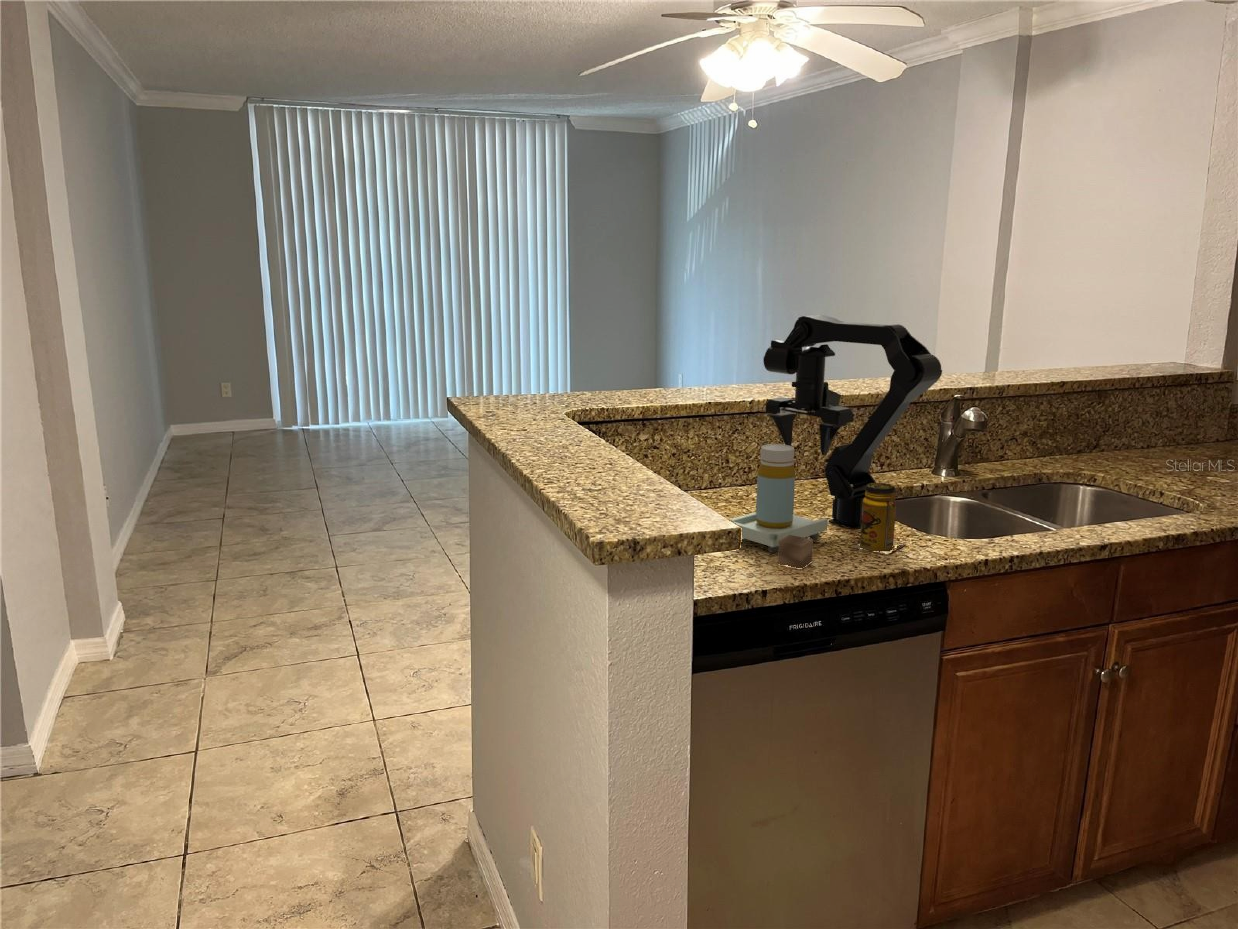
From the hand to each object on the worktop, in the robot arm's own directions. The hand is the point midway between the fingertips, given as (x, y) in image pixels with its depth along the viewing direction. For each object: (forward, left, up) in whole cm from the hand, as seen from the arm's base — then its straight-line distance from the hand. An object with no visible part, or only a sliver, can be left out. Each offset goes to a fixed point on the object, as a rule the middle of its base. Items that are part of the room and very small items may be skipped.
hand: (806, 451), depth 193 cm
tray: (-9, +20, -13) cm, 25 cm away
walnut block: (-20, +28, -13) cm, 37 cm away
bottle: (-8, +20, -10) cm, 24 cm away
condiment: (-24, +8, -13) cm, 29 cm away
